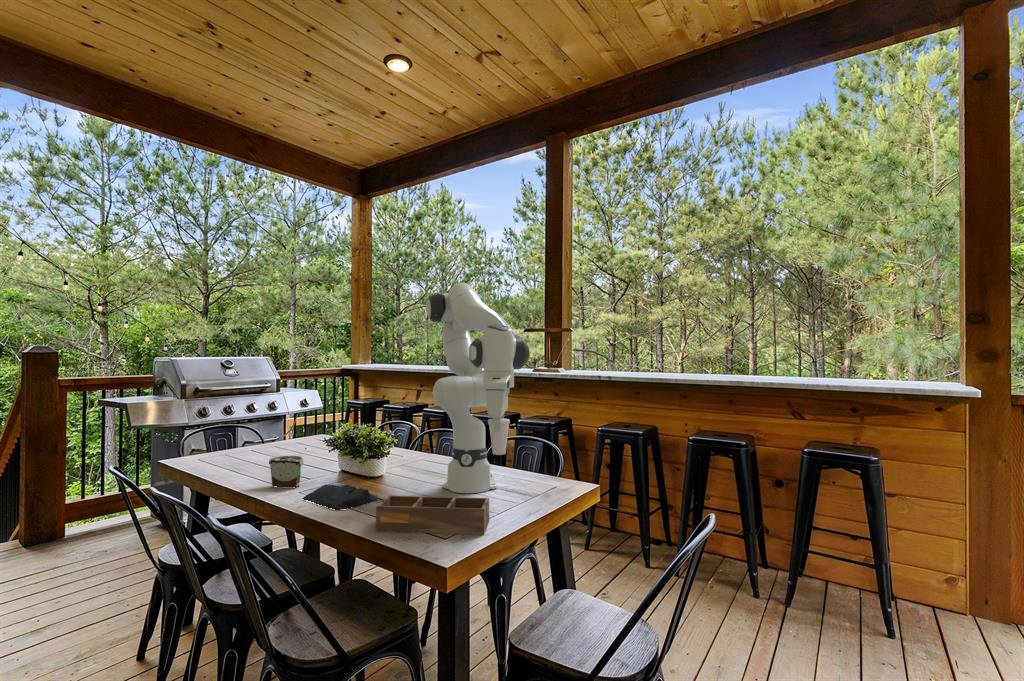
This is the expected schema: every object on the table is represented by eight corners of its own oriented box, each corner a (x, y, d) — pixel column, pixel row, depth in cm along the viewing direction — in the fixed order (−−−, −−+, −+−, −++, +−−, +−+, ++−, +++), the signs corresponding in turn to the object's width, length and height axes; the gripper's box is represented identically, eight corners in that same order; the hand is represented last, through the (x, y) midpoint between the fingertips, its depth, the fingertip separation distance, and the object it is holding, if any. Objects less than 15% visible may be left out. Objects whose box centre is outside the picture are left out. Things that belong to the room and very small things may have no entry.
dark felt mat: (339, 490, 172) (339, 476, 172) (381, 501, 159) (381, 486, 159) (298, 501, 159) (298, 486, 159) (340, 514, 146) (340, 497, 147)
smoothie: (509, 451, 146) (509, 403, 146) (510, 455, 140) (510, 405, 140) (487, 451, 146) (487, 403, 146) (488, 456, 139) (487, 406, 140)
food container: (310, 484, 178) (310, 456, 178) (300, 488, 172) (300, 459, 172) (279, 482, 180) (279, 454, 180) (268, 487, 174) (268, 458, 174)
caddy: (388, 518, 141) (388, 495, 141) (489, 521, 138) (489, 498, 139) (375, 531, 131) (375, 506, 131) (483, 535, 128) (483, 509, 128)
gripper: (492, 379, 154) (492, 423, 153) (482, 383, 133) (482, 435, 133) (512, 379, 153) (512, 424, 153) (506, 383, 133) (506, 435, 132)
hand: (498, 429), depth 143 cm, fingers closed on smoothie, 6 cm apart
